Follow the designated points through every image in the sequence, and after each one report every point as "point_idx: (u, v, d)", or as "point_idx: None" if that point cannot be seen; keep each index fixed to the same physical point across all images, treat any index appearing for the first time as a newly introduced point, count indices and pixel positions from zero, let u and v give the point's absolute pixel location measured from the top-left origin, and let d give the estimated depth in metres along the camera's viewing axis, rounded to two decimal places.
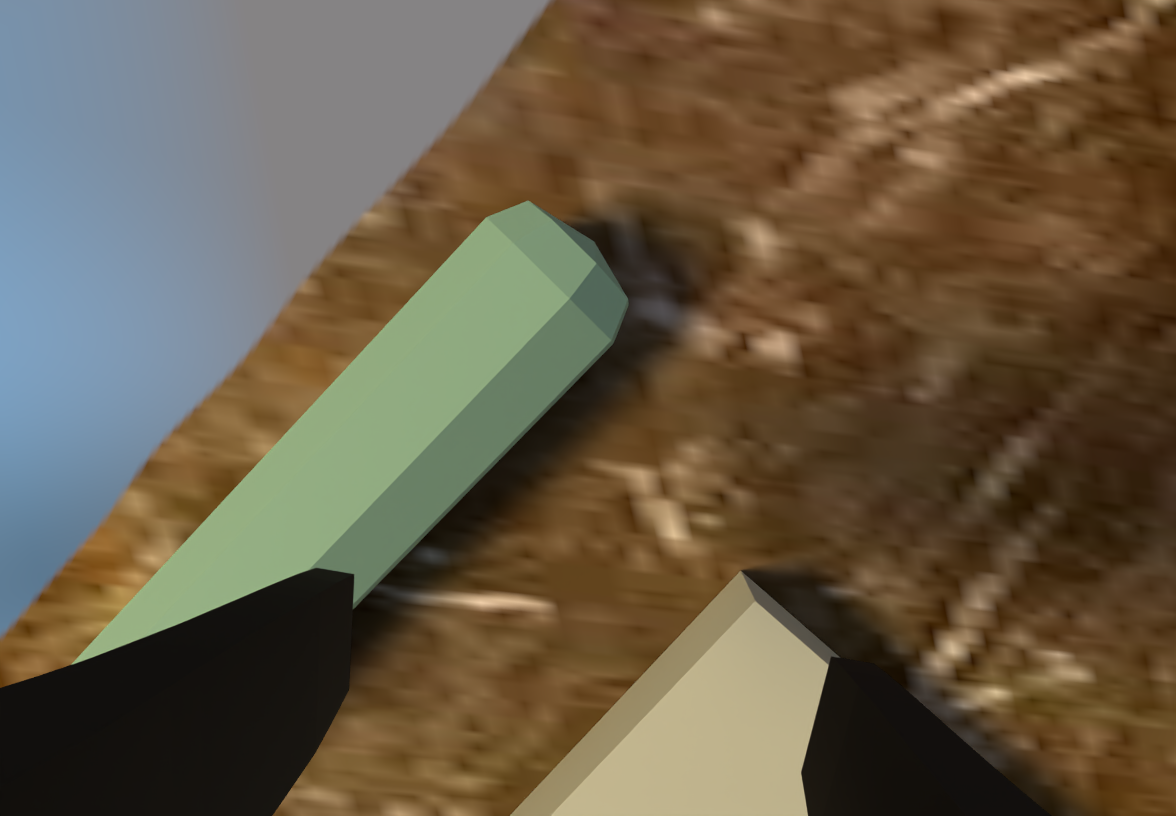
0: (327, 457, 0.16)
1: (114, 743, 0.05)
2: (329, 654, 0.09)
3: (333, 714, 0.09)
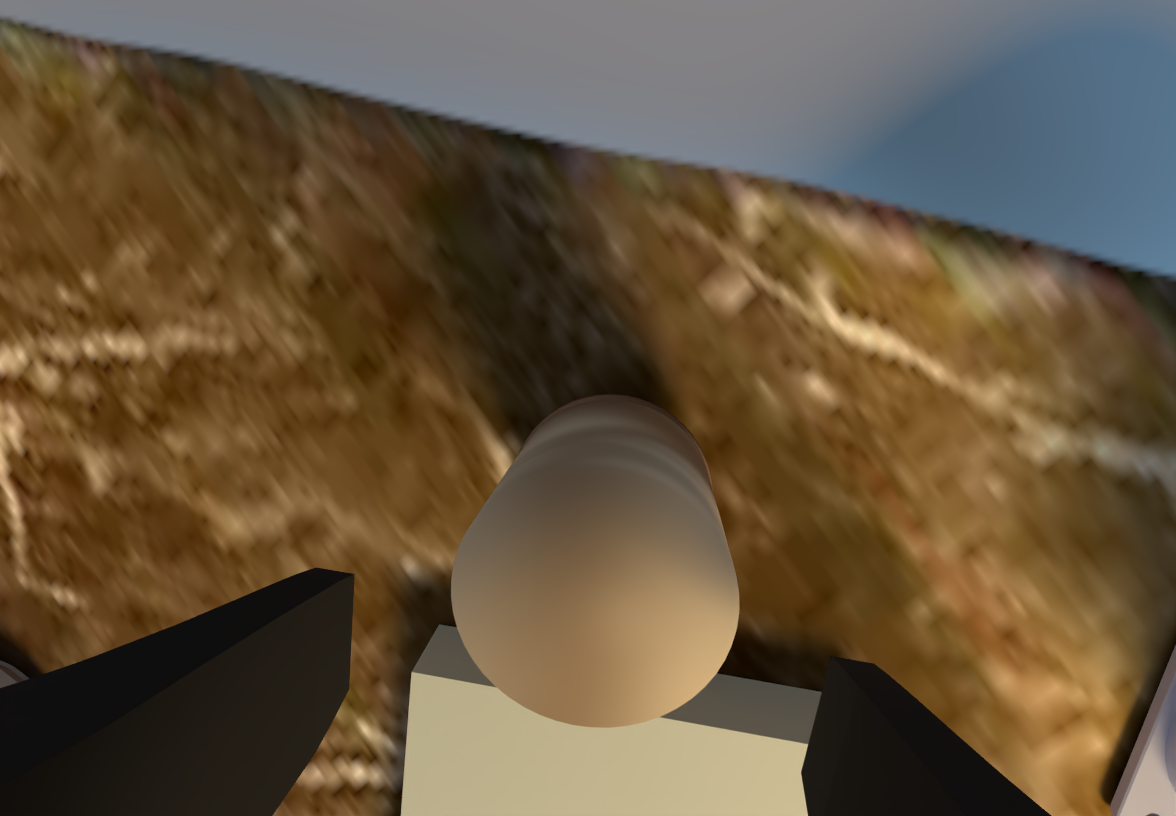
0: None
1: (114, 743, 0.05)
2: (329, 654, 0.09)
3: (333, 714, 0.09)
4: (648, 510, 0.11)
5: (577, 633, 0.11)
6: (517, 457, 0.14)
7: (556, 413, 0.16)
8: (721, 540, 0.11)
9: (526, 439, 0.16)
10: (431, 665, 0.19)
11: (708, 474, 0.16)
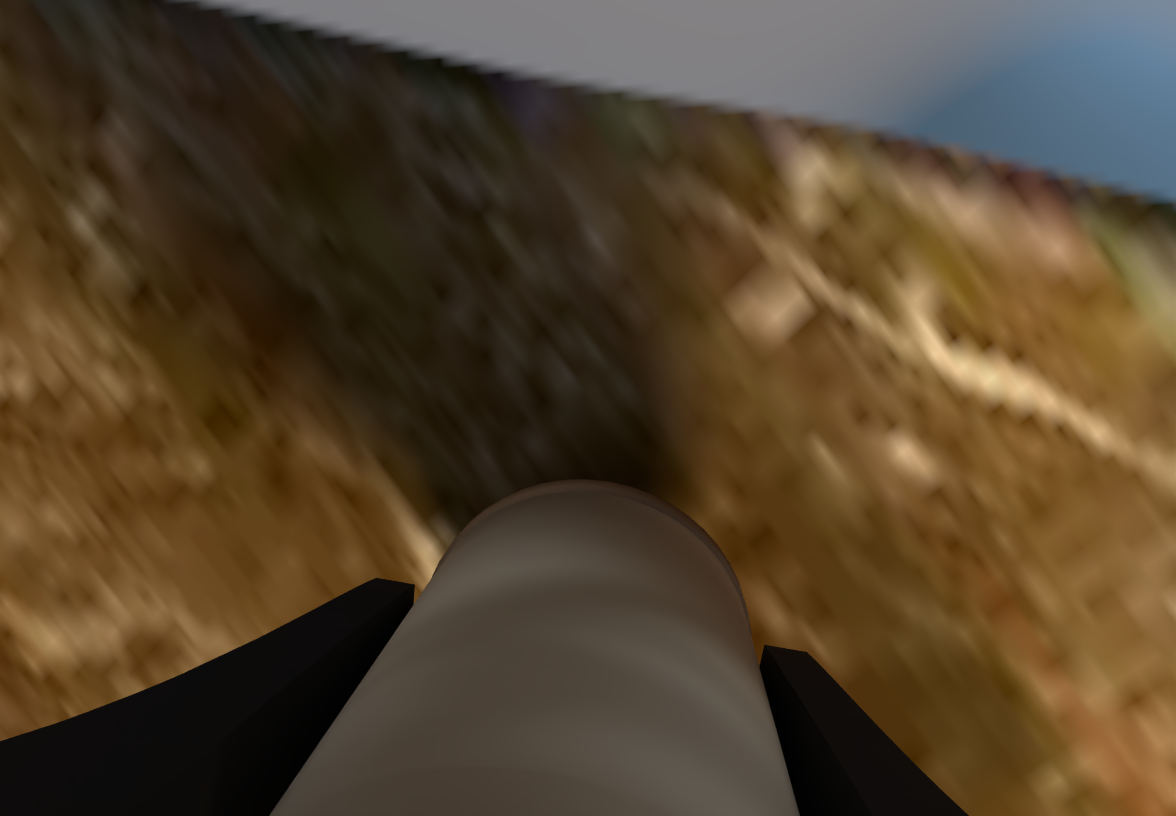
0: None
1: (219, 763, 0.05)
2: None
3: None
4: None
5: None
6: (406, 617, 0.08)
7: (492, 513, 0.10)
8: None
9: None
10: None
11: (745, 613, 0.10)
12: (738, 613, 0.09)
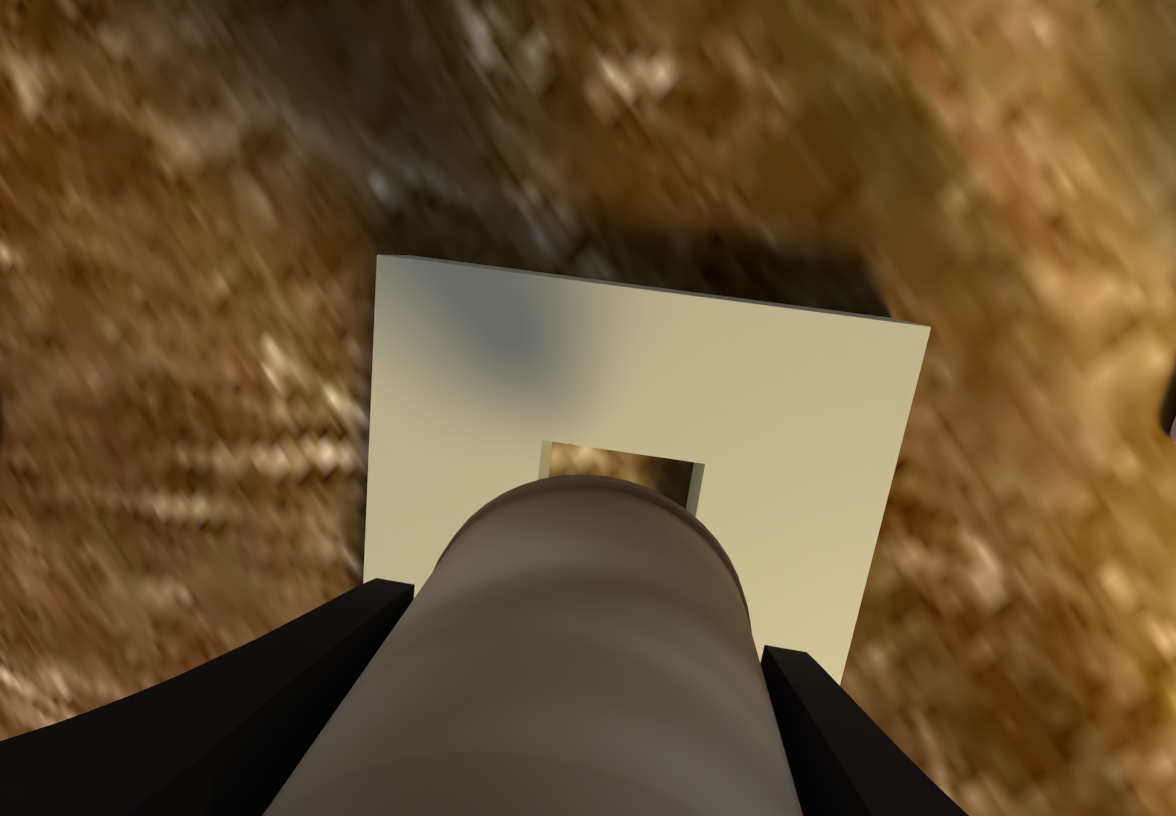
0: None
1: (219, 764, 0.05)
2: None
3: None
4: None
5: None
6: (405, 612, 0.08)
7: (491, 509, 0.10)
8: None
9: (444, 550, 0.10)
10: (400, 257, 0.17)
11: (744, 607, 0.10)
12: (737, 605, 0.09)
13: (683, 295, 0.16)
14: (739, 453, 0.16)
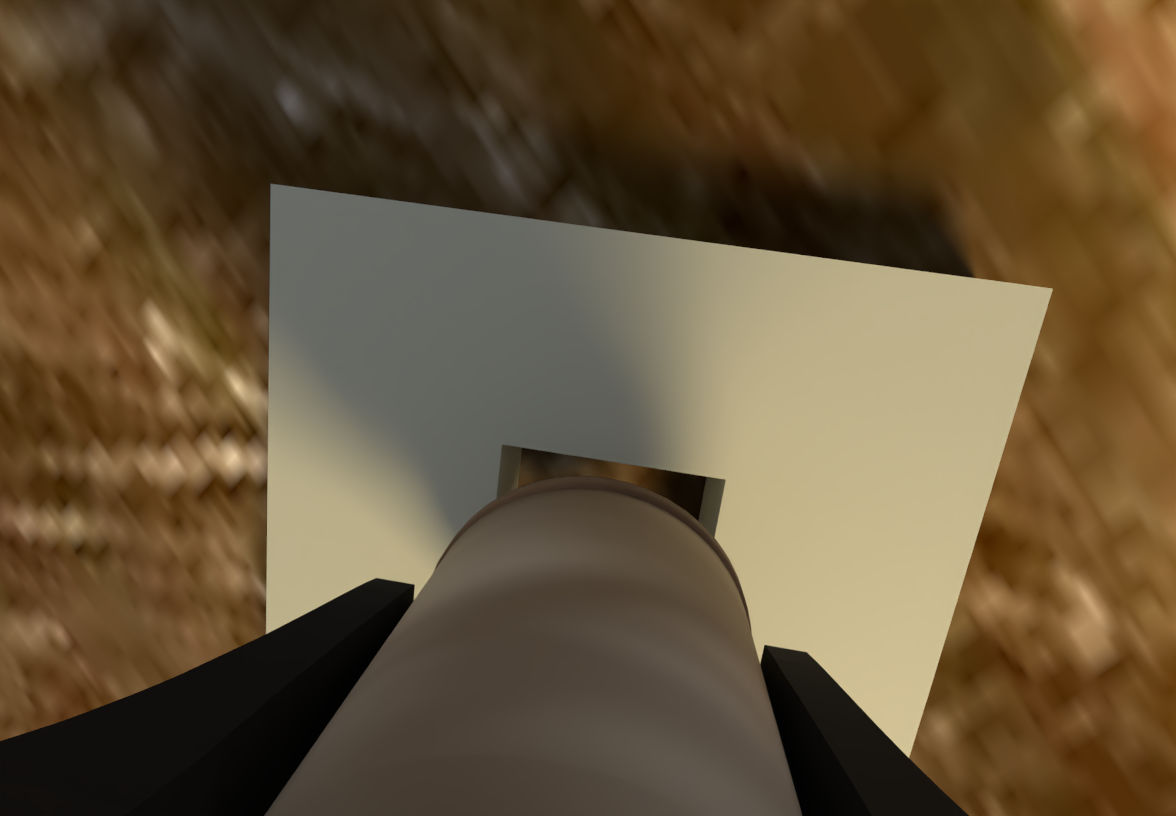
0: None
1: (219, 763, 0.05)
2: None
3: None
4: None
5: None
6: (405, 614, 0.08)
7: (491, 510, 0.10)
8: None
9: None
10: None
11: (744, 608, 0.10)
12: (737, 607, 0.09)
13: (699, 242, 0.11)
14: (774, 465, 0.12)
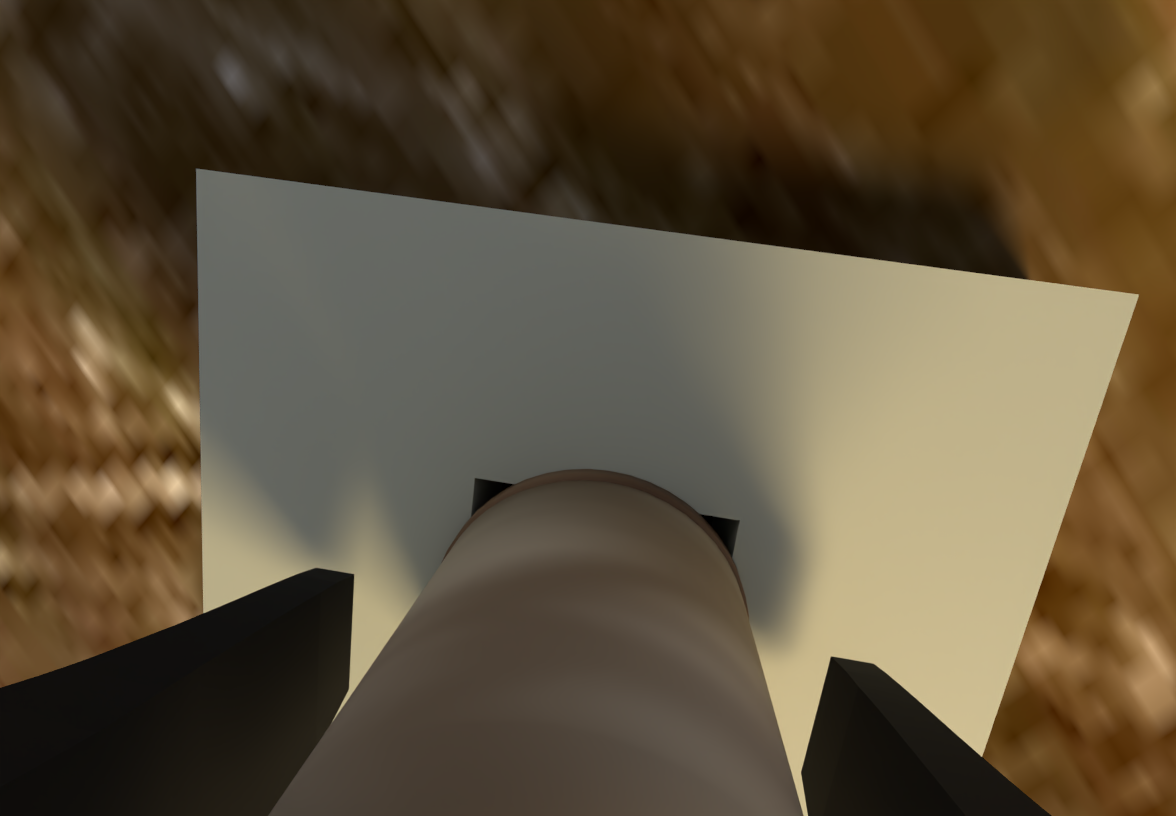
0: None
1: (114, 743, 0.05)
2: (329, 654, 0.09)
3: (333, 714, 0.09)
4: None
5: None
6: (417, 600, 0.08)
7: (498, 502, 0.10)
8: None
9: (452, 542, 0.10)
10: None
11: (742, 596, 0.10)
12: (735, 594, 0.09)
13: (709, 239, 0.09)
14: (797, 503, 0.10)
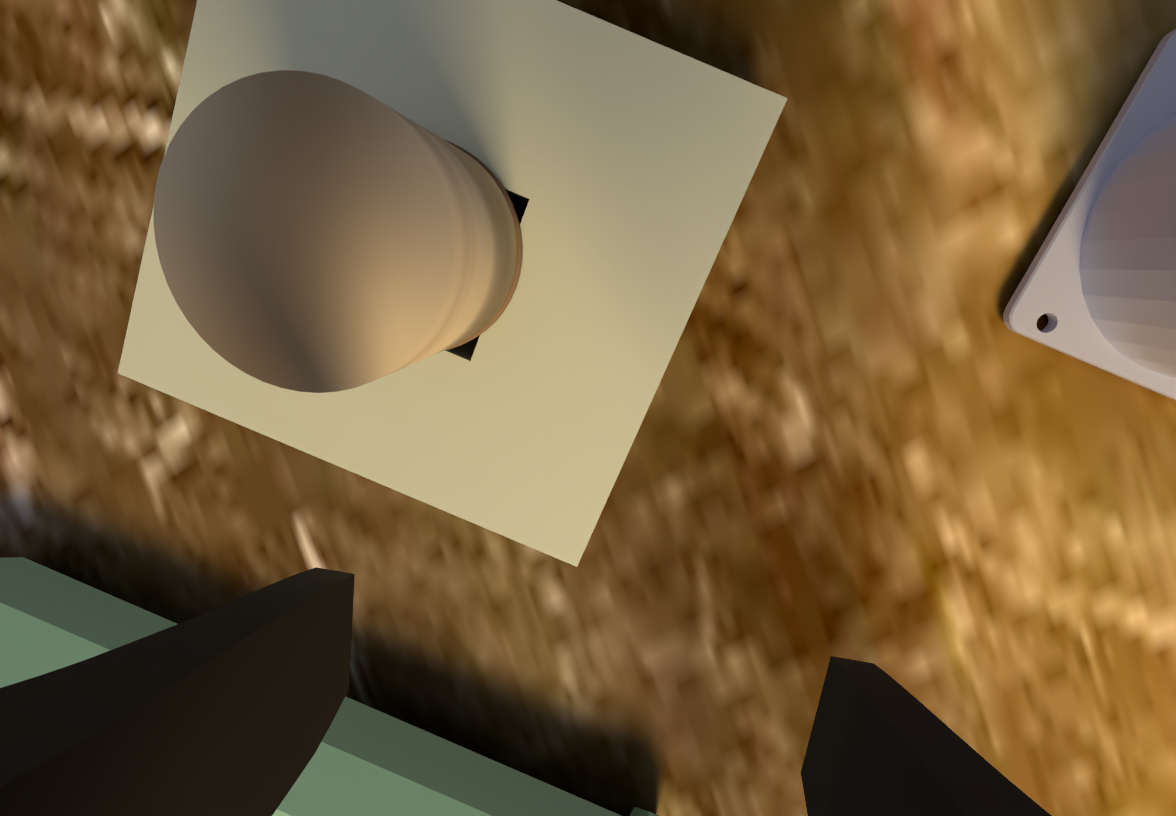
0: None
1: (114, 743, 0.05)
2: (329, 654, 0.09)
3: (333, 714, 0.09)
4: (373, 141, 0.10)
5: (279, 273, 0.11)
6: None
7: None
8: (442, 192, 0.10)
9: None
10: None
11: (517, 245, 0.15)
12: (502, 212, 0.14)
13: None
14: (567, 195, 0.15)
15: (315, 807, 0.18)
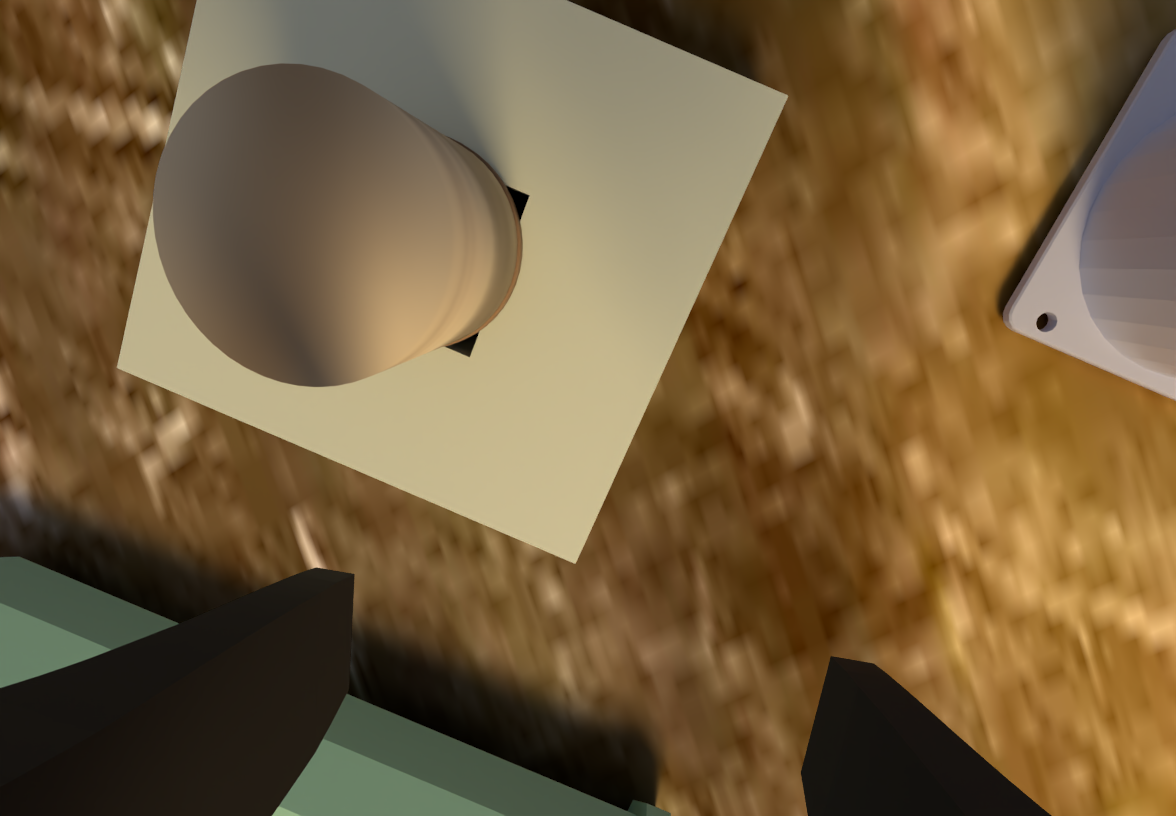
0: None
1: (114, 743, 0.05)
2: (329, 654, 0.09)
3: (333, 714, 0.09)
4: (372, 134, 0.10)
5: (279, 267, 0.11)
6: None
7: None
8: (442, 186, 0.10)
9: None
10: None
11: (517, 241, 0.15)
12: (502, 208, 0.14)
13: None
14: (567, 191, 0.15)
15: (312, 802, 0.18)
